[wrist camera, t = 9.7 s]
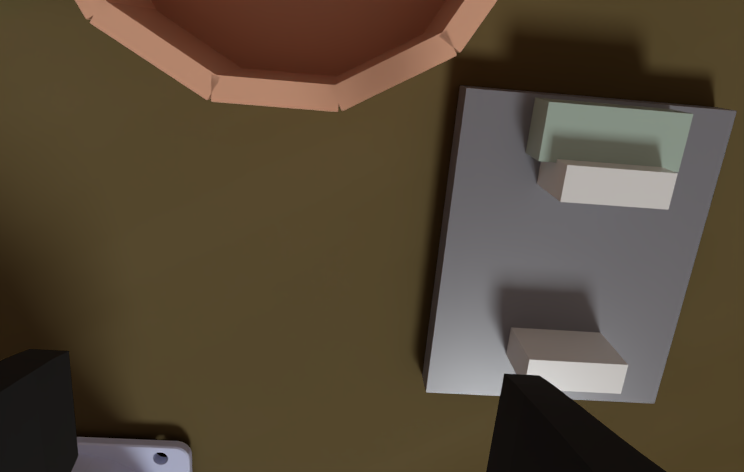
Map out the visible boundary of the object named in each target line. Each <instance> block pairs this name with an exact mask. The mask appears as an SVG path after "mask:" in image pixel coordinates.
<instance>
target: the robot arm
mask: <svg viewBox="0 0 744 472" xmlns="http://www.w3.org/2000/svg"><path fill="white" fill-rule="evenodd" d="M159 452H161V453H164V454H166V455H167V457H161V456H159V455H158V454H157V453H159ZM0 472H192V452H191V448H190V447H189V446H188V445H187V444H185V443H184V442H180V441H167V440H143V439H120V438H96V437H77V435H76V425H75V414H74V403H73V392H72V382H71V371H70V360H69V351H57V350H37V349H29V350H26V351H24V352H21V353H18V354H16V355H13V356H11V357H9V358H6V359H4V360H2V361H0ZM486 472H666V471H665V470H663V469H662V468H660V467H659V466H658V465H656V464H655V463H654V462H652V461H651V460H649V459H648V458H647V457H645V456H644V455H643V454H641V453H640V452H639V451H637V450H636V449H635V448H633V447H632V446H631V445H629V444H628V443H627V442H625V441H624V440H623V439H622V438H620V437H619V436H618V435H616V434H615V433H614V432H613V431H611V430H610V429H609V428H607V427H606V426H605V425H604V424H602V423H601V422H600V421H599V420H597V419H596V418H595V417H593V416H592V415H591V414H590V413H588V412H587V411H586V410H585V409H583V408H582V407H581V406H580V405H578V404H577V403H576V402H575V401H573V400H572V399H571V398H569V397H568V396H567V395H566V394H564V393H563V392H562V391H560V390H559V389H558V388H557V387H555V386H554V385H552V384H551V383H550V382H548V381H547V380H545V379H544V378H542V377H541V376H539V375H522V374H504V377H503V383H502V388H501V394H500V399H499V405H498V410H497V416H496V421H495V427H494V432H493V438H492V443H491V449H490V454H489V460H488V465H487V471H486Z"/></svg>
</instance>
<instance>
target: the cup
mask: <svg viewBox="0 0 744 472" xmlns="http://www.w3.org/2000/svg"><path fill="white" fill-rule="evenodd" d="M75 1H76V3H77V5H78V6H79V8H80V10H81V11H82V13H83V15H84V16H85V18H86V19H91V21H90V23H91V24H92V25H94V26H95V27H97V28H98V29H100V30H101V31H103V32H104V33H106V34H107V35H109V36H110V37H112V38H113V39H115V40H116V41H118V42H120V43H121V44H123V45H124V46H126V47H127V48H129V49H130V50H132V51H133V52H135V53H136V54H138V55H139V56H141V57H142V58H144V59H145V60H147V61H148V62H150V63H151V64H153V65H154V66H156V67H157V68H159V69H160V70H162V71H164V72H165V73H167V74H168V75H170V76H171V77H173V78H174V79H176V80H177V81H179V82H180V83H182V84H183V85H185V86H186V87H188V88H189V89H191V90H192V91H194V92H195V93H197V94H198V95H200V96H201V97H203V98H205V99H206V100H209V99H211V102H222V103H234V104H246V105H258V106H271V107H283V108H295V109H308V110H320V111H332V112H338V107H339V106H340V108H341V110H342V111H344V110H346V109H348V108H350V107H352V106H354V105H356V104H358V103H360V102H362V101H364V100H366V99H368V98H370V97H372V96H374V95H377V94H379V93H381V92H383V91H385V90H387V89H389V88H391V87H393V86H395V85H397V84H399V83H401V82H403V81H405V80H407V79H410V78H412V77H414V76H416V75H418V74H420V73H422V72H424V71H426V70H428V69H430V68H432V67H434V66H436V65H438V64H440V63H443V62H445V61H447V60H449V59H451V58H453V57H455V56H457V54H456V52H461V51H462V50H463V48H464V47H465V45H466V44H467V42H468V41H469V40H470V38H471V37H472V35H473V34H474V33H475V31H476V30H477V28H478V27H479V25H480V24H481V23H482V21H483V20H484V18H485V17H486V16H487V14H488V13H489V11H490V10H491V8H492V7H493V6H494V4H495V3H496V1H497V0H75Z"/></svg>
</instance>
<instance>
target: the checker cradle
mask: <svg viewBox="0 0 744 472" xmlns="http://www.w3.org/2000/svg"><path fill="white" fill-rule="evenodd" d="M736 112H737V111H734V110H728V109H723V108H718V107H708V106H696V105H684V104H673V103H661V102H649V101H638V100H626V99H614V98H603V97H591V96H579V95H567V94H556V93H544V92H532V91H521V90H509V89H497V88H486V87H474V86H462V85H460V89H459V96H458V104H457V112H456V119H455V127H454V135H453V143H452V150H451V158H450V166H449V173H448V181H447V189H446V197H445V204H444V212H443V220H442V227H441V235H440V243H439V251H438V258H437V266H436V274H435V281H434V289H433V297H432V305H431V312H430V320H429V328H428V335H427V343H426V351H425V359H424V366H423V374H422V377H423V381H424V386H425V390H426V392H431V393H451V394H472V395H492V396H500V394H501V388H502V383H503V377H504V374H522V375H539V376H541V377H542V378H544V379H545V380H547V381H548V382H550V383H551V384H552V385H554V386H555V387H557V388H558V389H559V390H560V391H562V392H563V393H564V394H566V395H567V396H568V397H569V398H571V399H574V400H595V401H615V402H635V403H655V399H656V396H657V392H658V389H659V385H660V382H661V378H662V375H663V371H664V367H665V364H666V360H667V357H668V353H669V350H670V346H671V343H672V339H673V335H674V332H675V328H676V325H677V321H678V318H679V314H680V311H681V307H682V304H683V300H684V296H685V293H686V289H687V286H688V282H689V279H690V275H691V272H692V268H693V264H694V261H695V257H696V254H697V250H698V247H699V243H700V240H701V236H702V233H703V229H704V225H705V222H706V218H707V215H708V211H709V208H710V204H711V201H712V197H713V193H714V190H715V186H716V183H717V179H718V176H719V172H720V169H721V165H722V161H723V158H724V154H725V151H726V147H727V144H728V140H729V137H730V133H731V130H732V126H733V122H734V119H735V115H736Z"/></svg>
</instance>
